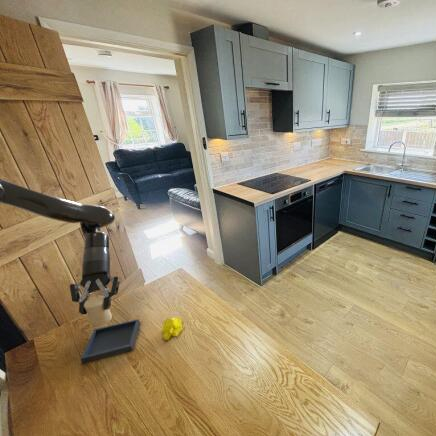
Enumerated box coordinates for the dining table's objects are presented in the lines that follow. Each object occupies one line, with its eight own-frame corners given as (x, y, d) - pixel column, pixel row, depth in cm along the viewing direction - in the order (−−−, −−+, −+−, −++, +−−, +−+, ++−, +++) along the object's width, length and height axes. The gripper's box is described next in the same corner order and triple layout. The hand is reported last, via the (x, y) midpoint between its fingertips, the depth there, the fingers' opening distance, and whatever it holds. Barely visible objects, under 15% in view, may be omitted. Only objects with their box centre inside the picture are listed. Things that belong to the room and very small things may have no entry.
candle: (89, 322, 81) (78, 300, 77) (106, 311, 86) (97, 290, 81) (97, 329, 79) (87, 306, 75) (115, 317, 83) (106, 295, 79)
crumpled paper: (186, 324, 95) (182, 309, 91) (172, 341, 87) (168, 326, 84) (173, 321, 96) (169, 306, 93) (159, 337, 89) (154, 322, 85)
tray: (82, 363, 79) (80, 359, 78) (96, 333, 90) (94, 328, 89) (132, 350, 84) (131, 345, 83) (140, 323, 95) (138, 318, 94)
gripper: (64, 263, 78) (61, 317, 73) (116, 255, 82) (116, 306, 77) (77, 267, 85) (75, 317, 79) (124, 260, 89) (124, 306, 84)
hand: (95, 311), depth 78 cm, fingers closed on candle, 5 cm apart
